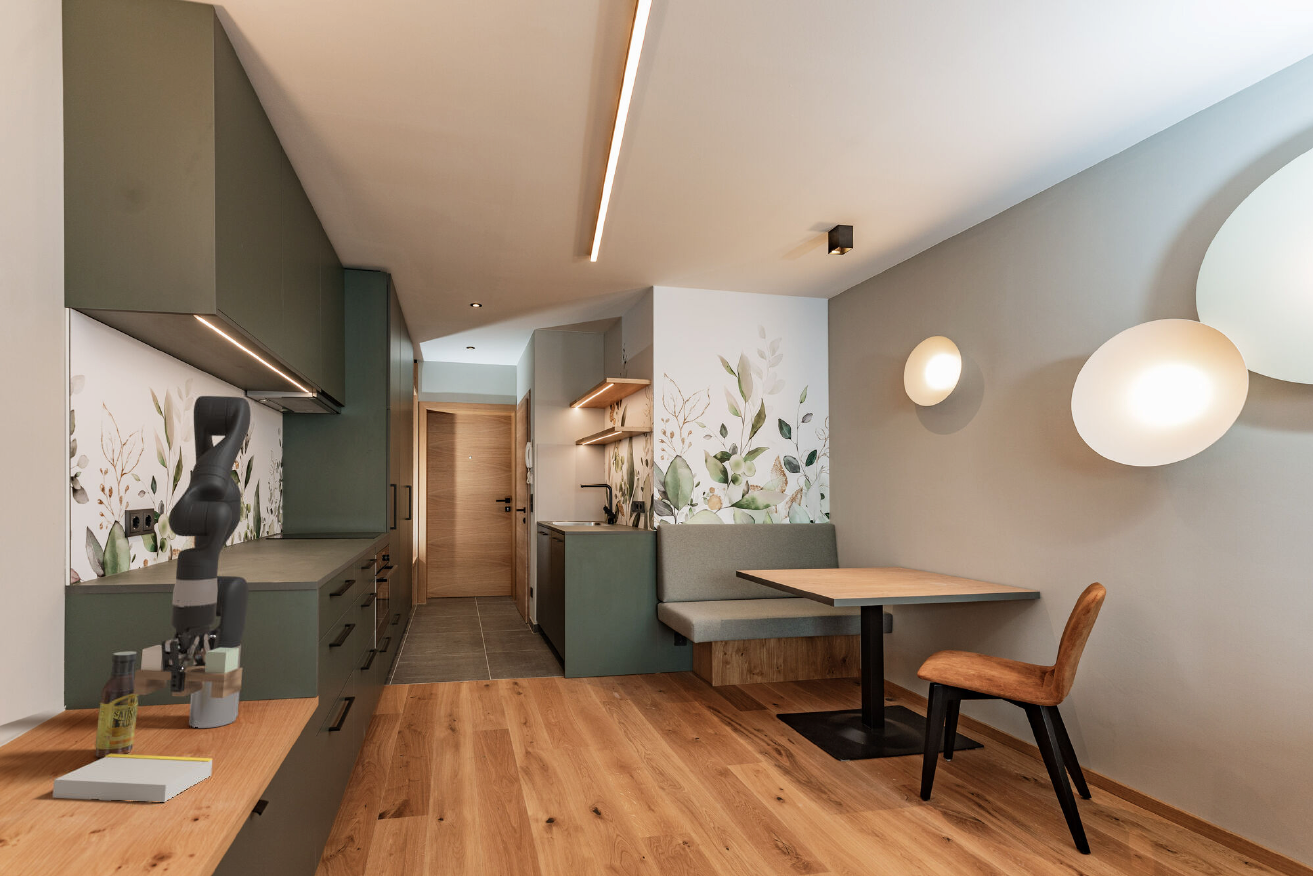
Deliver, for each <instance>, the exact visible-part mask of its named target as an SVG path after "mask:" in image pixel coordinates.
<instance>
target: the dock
mask: <svg viewBox="0 0 1313 876" xmlns="http://www.w3.org/2000/svg"><path fill="white" fill-rule="evenodd" d="M212 769H213V758H209V757H192V756H191V757H188V756H169V755H166V756H165V755H145V754H128V753H127V754H109V755H106V756H105V757H104V758H99V759H98V760H96V761H93V762H91V763H89V764H87V765H84V766H82V767H80V768H78V769H76V770H73V771H71V772H68V773H66V774H63V775H62V776H59V777H57V778H55V779H54V781H53V791H52V798H55V799H73V800H74V799H75V800H91V799H99V800H98V801H111V800H133V801H134V800H135V801H136V800H137V801H158V802H159V801H160V802H165V801H167V800H168V799H171V798H172V797H174V796H176V795H177V794H179V793H180V792H182V791H184V790H186V789H187V788H189V787H190V786H193V785H194V784H197V783H198V782H200V781H202V780H203V781H205V780H206V779H205V778H207V779H209V778H210V777H211V776H212V772H213V771H212ZM209 776H210V777H209ZM208 777H209V778H208ZM204 779H205V780H204ZM203 781H202V782H203ZM200 783H201V782H200ZM198 784H199V783H198ZM198 784H197V785H198ZM193 787H194V786H193ZM186 791H187V790H186ZM179 795H180V794H179ZM176 797H177V796H176ZM174 798H175V797H174ZM172 799H173V798H172ZM172 799H171V800H172ZM167 802H168V801H167Z"/></svg>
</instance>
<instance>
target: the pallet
mask: <svg viewBox="0 0 1313 876" xmlns="http://www.w3.org/2000/svg"><path fill="white" fill-rule="evenodd" d="M134 671H135V672H134V676H135V682H134V694H136V695H139V696H142V695H143V696H145V695H149V694H152V693H154V692H157V691H160V690H162V689H165V688H167V683H168V682H167V681H171V672H170V671H163V670H161V671H153V670H141V668H140V669H138V670H134ZM184 672H186V673H185V684H184V690H183V691H182V692H172V691H171V692H172V693H171V697H182V698H183V697H186V696H188V695H189V696H190V695H191V694H192V693H194V692H197V691H199V690H202V689H203V687H204V682H212V688H211V698H224V697H227V696H229V695H231V694H234V693H236V692H238V691H239V692H240V691H242V680H243V679H242V676H243V667H239V668H237V669H235V670H232V671H230V672H227V673H205V666H193V665H189V664H187V666H186V669H185V671H184Z"/></svg>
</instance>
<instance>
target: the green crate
mask: <svg viewBox="0 0 1313 876" xmlns="http://www.w3.org/2000/svg"><path fill="white" fill-rule="evenodd" d="M238 654H239V648H217V649H214V650H211V651H207V652H206V664H205V673H227V672H230V671H232V670H235V669H237V668H238Z"/></svg>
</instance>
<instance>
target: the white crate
mask: <svg viewBox="0 0 1313 876" xmlns="http://www.w3.org/2000/svg"><path fill="white" fill-rule="evenodd" d="M171 662H172V660H169V664H170V665H171ZM140 665H141V667H140V669H141V670H153V671H161V670H163V666H162V646H161V644H156V645H153V646H150V647H146V648H143V649H142V656H141V664H140Z"/></svg>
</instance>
